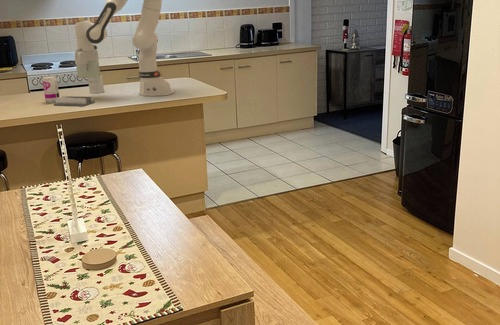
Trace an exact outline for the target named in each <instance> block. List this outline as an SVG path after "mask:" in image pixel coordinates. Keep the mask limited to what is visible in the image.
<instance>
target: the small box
mask: <svg viewBox="0 0 500 325" xmlns="http://www.w3.org/2000/svg"><path fill="white" fill-rule="evenodd" d="M100 76H101V77H99V78H87V83H88V88H89V94H102V93H104V92H105V88H104V81H103V80H104V78H103V76H102V75H100Z"/></svg>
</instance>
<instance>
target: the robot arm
mask: <svg viewBox="0 0 500 325" xmlns="http://www.w3.org/2000/svg"><path fill="white" fill-rule="evenodd" d="M126 3H128V0H105V3H104V6H103V9H102V10H101V12H100V14H99V16H97V19H96V21H95V22H94V23H93V22H91V21H90V20H87V19H83V20H79V21H77V22H76V23H75V25H74V32H75V38H76V47H77V49H75V52H74V63H75V66H76V65H82V66H83V68H84V71H85V72H87V71H88V68H87V67H86V66H87V65H86V64H88V61H98V62H99V52H98V51H99V50H98V46H97V44H100V43H101V42H102V41H104V40H105V39H106V38H107V37H108V36H107V35H108V32H107V29H106V28H107V27H108V24H109V23H110V21H111V19H112V18H113V16H114V15H116V13H118V12H120V11H121V10H122V9H123V8H124V7H125V6H126ZM162 3H163V0H143V2H142V7H141V11H140V12H141V13H140V17H139V21H138V24H137V27H136V29H135V33H134V34H133V37H132V45H133V46H134V47H135V48H136V49H138V50H139V53H138V58H137V60H138V68H139V71H138V78H139V93H138V94H139V95H140V96H142V97H150V96H151V97H153V96H154V97H155V96H160V97H161V96H169V95H173V94H174V93H175V90H173V89H172V88H171V87H172V86H171V83H169V81H167V80H166V79H164V78H163V77H162V76H161V74H162V72H161V71H159V70H158V65H157V64H158V63H157V50H158V48H157V47H158V41H159V39H158V35H157V33H156V32H155V31H156V28H157V26H158V25H159V19H160V15H161V11H162V10H161V9H162V5H163V4H162Z"/></svg>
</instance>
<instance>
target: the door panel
mask: <svg viewBox="0 0 500 325" xmlns="http://www.w3.org/2000/svg"><path fill="white" fill-rule="evenodd" d="M86 65H87V66H86V67H87V68H88V71H87V72H85V71H84V68H83V66H82V65H76V64H75V66H76V72H77V78H78V79H88V78H99V77H101V76H102V75H101V70H100V62H99V60H98V61H88V64H86Z"/></svg>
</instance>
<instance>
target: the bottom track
mask: <svg viewBox="0 0 500 325" xmlns="http://www.w3.org/2000/svg"><path fill="white" fill-rule="evenodd" d="M55 99H56V103H53V106H56V107H85V106H88V105H91V104H93V103H94V104H95V102H96V101H95V100H93V96H90V95H89V96H85V95H83V96H82V95H81V96H80V95H62V96H61V97H59V98H55Z"/></svg>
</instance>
